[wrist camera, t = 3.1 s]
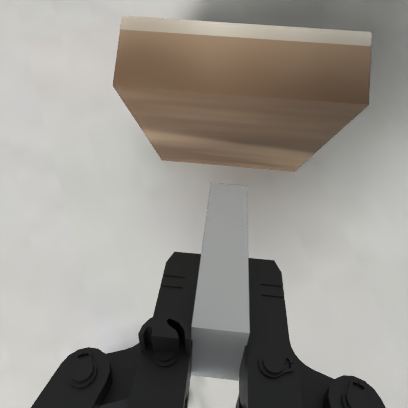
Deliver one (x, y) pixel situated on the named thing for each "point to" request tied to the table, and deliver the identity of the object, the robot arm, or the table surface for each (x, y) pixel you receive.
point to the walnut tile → (240, 88)
